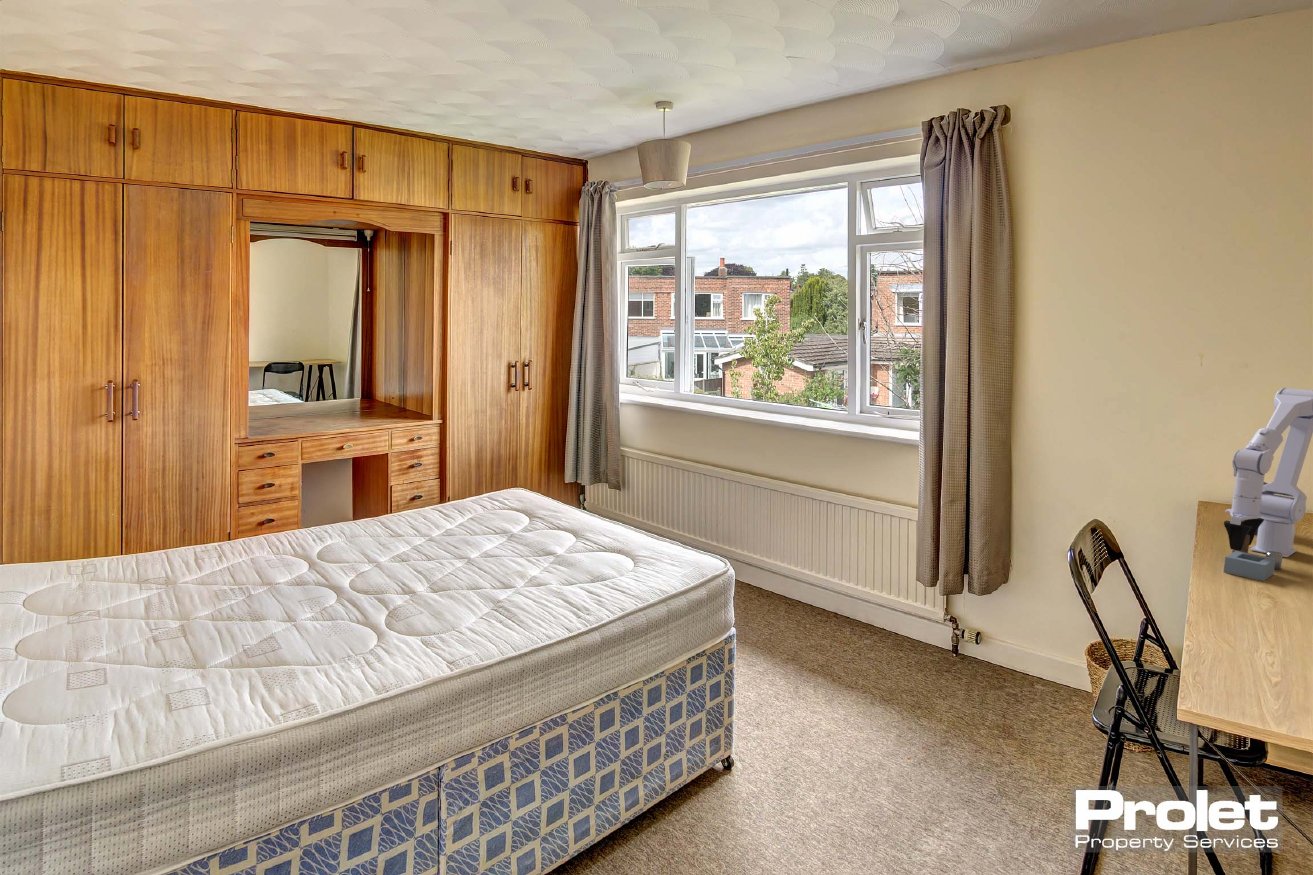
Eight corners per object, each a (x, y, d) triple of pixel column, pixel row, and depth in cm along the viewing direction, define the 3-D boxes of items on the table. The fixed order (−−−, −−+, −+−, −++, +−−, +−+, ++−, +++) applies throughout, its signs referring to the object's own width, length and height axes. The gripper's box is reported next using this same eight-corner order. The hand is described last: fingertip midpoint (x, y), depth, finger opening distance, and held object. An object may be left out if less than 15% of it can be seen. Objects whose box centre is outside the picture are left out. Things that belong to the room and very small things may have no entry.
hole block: (1234, 565, 191) (1236, 550, 190) (1273, 574, 185) (1275, 558, 184) (1223, 572, 186) (1225, 556, 186) (1263, 581, 180) (1265, 565, 179)
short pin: (1266, 565, 192) (1268, 550, 191) (1282, 568, 189) (1284, 553, 188) (1262, 567, 190) (1264, 552, 189) (1278, 571, 187) (1280, 555, 186)
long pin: (1233, 558, 197) (1236, 532, 196) (1248, 561, 194) (1251, 535, 193) (1229, 560, 195) (1232, 534, 194) (1244, 563, 193) (1247, 537, 191)
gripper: (1237, 489, 199) (1231, 538, 202) (1218, 496, 191) (1212, 548, 193) (1270, 494, 194) (1263, 544, 196) (1253, 502, 185) (1245, 555, 187)
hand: (1240, 546), depth 194 cm, fingers open, 7 cm apart
